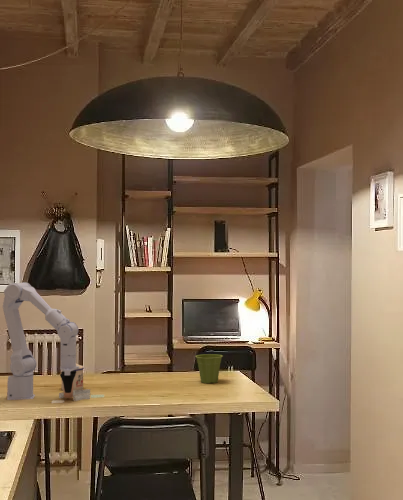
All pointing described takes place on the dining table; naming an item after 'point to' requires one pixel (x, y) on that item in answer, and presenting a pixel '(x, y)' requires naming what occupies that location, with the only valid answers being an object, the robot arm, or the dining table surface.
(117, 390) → the dining table surface
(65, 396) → the peg
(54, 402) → the board
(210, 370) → the plant pot
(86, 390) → the rails
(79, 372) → the teacup with lid
